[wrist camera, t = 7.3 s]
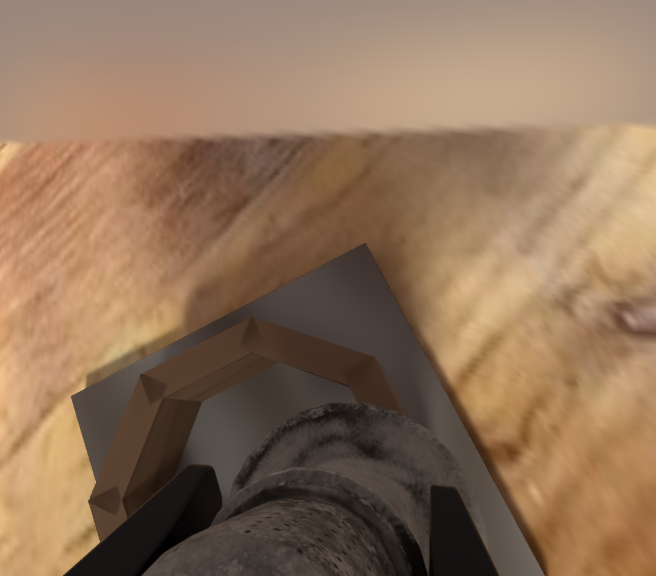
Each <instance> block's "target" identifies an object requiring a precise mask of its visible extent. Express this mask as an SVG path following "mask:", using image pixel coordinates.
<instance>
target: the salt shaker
mask: <svg viewBox="0 0 656 576" xmlns="http://www.w3.org/2000/svg"><path fill="white" fill-rule="evenodd" d="M433 484H440V485H452V486H455V487H456V488H457V489H458V490H459V492H460V494H461V496H462V498H463V500H464V502H465V504H466V506H467V508H468V511H469V513H470V515H471V517H472V519H473V521H474V523H475V525H476V527H477V529H478V531H479V533H480V536H481V538H482V540H483V542H484V544H485V546H486V548H487V550H488V540H487V527H486V523H485V520H484V517H483V514H482V511H481V508H480V505H479V502H478V498H477V495H476V492H475V489H474V487H473V485H472V484H471V482H470V480H469V479H468V477H467V476H466V474H465V472H464V471H463V469H462V468H461V466H460V464H459V463H458V461H457V460H456V458H455V456H454V455H453V454H452V453H451V452H450V451H449V450H448V449H447V448H446V447H445V446H444V445H443V444H442V443H441V442H440V441H439V440H438V439H437V438H436V437H435V436H434V435H433V434H432V433H431V432H430V431H429V430H428V429H426V428H425V427H423V426H421V425H419V424H418V423H416V422H414V421H412V420H411V419H409V418H407V417H405V416H404V415H402V414H400V413H399V412H397V411H393V410H390V409H386V408H382V407H378V406H375V405H371V404H367V403H329V404H325V405H322V406H319V407H315V408H312V409H308V410H305V411H301V412H299V413H297V414H296V415H294V416H292V417H291V418H289V419H288V420H286V421H284V422H283V423H281V424H279V425H278V426H276V427H275V428H273V429H272V430H271V431H270V432H269V433H268V434H267V435H266V436H265V437H264V438H263V439H262V440H261V441H260V442H259V443H258V445H257V446H256V447H255V448H254V449H253V450H252V451H251V452H250V453H249V455H248V457H247V458H246V460H245V462H244V464H243V466H242V467H241V469H240V471H239V473H238V474H237V476H236V478H235V480H234V482H233V484H232V488H231V491H230V495H229V498H228V502H227V503H226V504H225V505H224V507H223V508H222V509H221V510H220V511H219V512H218V513H217V515H216V517H215V518H214V520H213V522H212V524H211V525H210V527H209V528H208V529H206V530H203V531H201V532H199V533H197V534H194V535H193V536H191V537H189V538H187V539H186V540H184V541H182V542H181V543H179V544H177V545H176V546H174V547H172V548H171V549H169V550H167V551H166V552H164V553H163V554H162V555H161V556H160V557H159V558H158V559H157V560H156V561H155V562H154V563H153V564H152V565H151V566H150V567H149V568H148V569H147V571H146V572H145V573H144V574H143V575H142V576H429V521H430V487H431V486H432V485H433Z"/></svg>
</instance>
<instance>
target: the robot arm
mask: <svg viewBox="0 0 656 576" xmlns="http://www.w3.org/2000/svg"><path fill="white" fill-rule="evenodd" d="M221 509H222V494H221V491H220V487H219V483H218V480H217V476H216V473H215V470H214V468H213V467H212V466H210V465H203V464H190V465H188V466H186V467H185V468H184V469H183V470H181V471H180V472H179V473H178V474H177V475H176V476H175V477H174V478H172V479H171V480H170V481H169V482H168V483H167V484H166V485H165V486H163V487H162V488H161V489H160V490H159V491H158V492H157V493H156V494H154V495H153V496H152V497H151V498H150V499H149V500H148V501H146V502H145V503H144V504H143V505H142V506H141V507H140V508H139V509H137V510H136V511H135V512H134V513H133V514H132V515H131V516H130V517H128V518H127V519H126V520H125V521H124V522H123V523H122V524H121V525H119V526H118V527H117V528H116V529H115V530H114V531H113V532H112V533H110V534H109V535H108V536H107V537H106V538H105V539H104V540H103V541H101V542H100V543H99V544H98V545H97V546H96V547H95V548H94V549H92V550H91V551H90V552H89V553H88V554H87V555H86V556H84V557H83V558H82V559H81V560H80V561H79V562H78V563H77V564H75V565H74V566H73V567H72V568H71V569H70V570H69V571H68V572H66V573H65V574H64V575H63V576H142V575H143V574H144V573H145V572H146V571H147V569H148V568H149V567H150V566H151V565H152V564H153V563H154V562H155V561H156V560H157V559H158V558H159V557H160V556H161V555H162V554H163V553H164V552H166V551H167V550H169V549H171V548H172V547H174V546H176V545H177V544H179V543H181V542H182V541H184V540H186V539H187V538H189V537H191V536H193V535H194V534H197V533H199V532H201V531H203V530H206V529H208V528H209V527H210V525H211V524H212V522H213V520H214V518H215V517H216V515H217V513H218V512H219V511H220V510H221ZM429 576H500V575H499V573H498V571H497V569H496V567H495V565H494V563H493V560H492V558H491V556H490V554H489V552H488V550H487V548H486V546H485V544H484V542H483V540H482V538H481V536H480V533H479V531H478V529H477V527H476V525H475V523H474V521H473V519H472V517H471V515H470V513H469V511H468V508H467V506H466V504H465V502H464V500H463V498H462V496H461V494H460V492H459V490H458V489H457V488H456V487H455V486H452V485H440V484H433V485H432V486H431V487H430V521H429Z"/></svg>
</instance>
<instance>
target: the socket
mask: <svg viewBox="0 0 656 576" xmlns="http://www.w3.org/2000/svg"><path fill="white" fill-rule="evenodd" d="M71 399H72V402H73V406H74V409H75V412H76V416H77V419H78V422H79V426H80V429H81V433H82V436H83V439H84V443H85V446H86V449H87V453H88V456H89V460H90V463H91V466H92V470H93V473H94V476H95V480H96V484H95V487H94V489H93V491H92V494H91V496H90V499H89V500H88V503H89V505H90V508H91V512H92V515H93V519H94V522H95V526H96V529H97V533H98V536H99V539H100V542H101V541H103V540H104V539H105V538H106V537H107V536H108V535H109V534H110V533H112V532H113V531H114V530H115V529H116V528H117V527H118V526H119V525H121V524H122V523H123V522H124V521H125V520H126V519H127V518H128V517H130V516H131V515H132V514H133V513H134V512H135V511H136V510H137V509H139V508H140V507H141V506H142V505H143V504H144V503H145V502H146V501H148V500H149V499H150V498H151V497H152V496H153V495H154V494H156V493H157V492H158V491H159V490H160V489H161V488H162V487H163V486H165V485H166V484H167V483H168V482H169V481H170V480H171V479H172V478H174V477H175V476H176V475H177V474H178V473H179V472H180V471H181V470H183V469H184V468H185V467H186V466H188V465H190V464H203V465H210V466H212V467H213V468H214V470H215V473H216V476H217V480H218V483H219V487H220V491H221V494H222V508H223V507H224V505H225V504H226V503H227V502H228V498H229V495H230V491H231V488H232V484H233V482H234V480H235V478H236V476H237V474H238V473H239V471H240V469H241V467H242V466H243V464H244V462H245V460H246V458H247V457H248V455H249V453H250V452H251V451H252V450H253V449H254V448H255V447H256V446H257V445H258V443H259V442H260V441H261V440H262V439H263V438H264V437H265V436H266V435H267V434H268V433H269V432H270V431H271V430H272V429H273V428H275V427H276V426H278V425H279V424H281V423H283V422H284V421H286V420H288V419H289V418H291V417H292V416H294V415H296V414H297V413H299V412H301V411H305V410H308V409H312V408H315V407H319V406H322V405H325V404H329V403H367V404H371V405H375V406H378V407H382V408H386V409H390V410H393V411H397V412H399V413H400V414H402V415H404V416H405V417H407V418H409V419H411V420H412V421H414V422H416V423H418V424H419V425H421V426H423V427H425V428H426V429H428V430H429V431H430V432H431V433H432V434H433V435H434V436H435V437H436V438H437V439H438V440H439V441H440V442H441V443H442V444H443V445H444V446H445V447H446V448H447V449H448V450H449V451H450V452H451V453H452V454H453V455H454V456H455V458H456V460H457V461H458V463H459V464H460V466H461V468H462V469H463V471H464V472H465V474H466V476H467V477H468V479H469V480H470V482H471V484H472V485H473V487H474V489H475V492H476V495H477V498H478V502H479V505H480V508H481V511H482V514H483V517H484V520H485V523H486V527H487V540H488V552H489V554H490V556H491V558H492V560H493V563H494V565H495V567H496V569H497V571H498V573H499V575H500V576H545V575H544V573H543V571H542V570H541V568H540V566H539V564H538V562H537V560H536V558H535V557H534V555H533V553H532V551H531V549H530V547H529V545H528V544H527V542H526V540H525V538H524V536H523V534H522V532H521V531H520V529H519V527H518V525H517V523H516V521H515V519H514V518H513V516H512V514H511V512H510V510H509V508H508V507H507V505H506V503H505V501H504V499H503V497H502V495H501V494H500V492H499V490H498V488H497V486H496V484H495V482H494V481H493V479H492V477H491V475H490V473H489V471H488V469H487V468H486V466H485V464H484V462H483V460H482V458H481V456H480V455H479V453H478V451H477V449H476V447H475V445H474V443H473V442H472V440H471V438H470V436H469V434H468V432H467V430H466V429H465V427H464V425H463V423H462V421H461V419H460V418H459V416H458V414H457V412H456V410H455V408H454V406H453V405H452V403H451V401H450V399H449V397H448V395H447V393H446V392H445V390H444V388H443V386H442V384H441V382H440V380H439V379H438V377H437V375H436V373H435V371H434V369H433V367H432V366H431V364H430V362H429V360H428V358H427V356H426V354H425V353H424V351H423V349H422V347H421V345H420V343H419V341H418V340H417V338H416V336H415V334H414V332H413V330H412V329H411V327H410V325H409V323H408V321H407V319H406V317H405V316H404V314H403V312H402V310H401V308H400V306H399V304H398V303H397V301H396V299H395V297H394V295H393V293H392V291H391V290H390V288H389V286H388V284H387V282H386V280H385V278H384V277H383V275H382V273H381V271H380V269H379V267H378V265H377V264H376V262H375V260H374V258H373V256H372V254H371V252H370V251H369V249H368V247H367V245H366V243H364V244H362V245H360V246H358V247H356V248H355V249H353V250H351V251H349V252H347V253H345V254H343V255H341V256H339V257H337V258H335V259H333V260H331V261H330V262H328V263H326V264H324V265H322V266H320V267H318V268H316V269H314V270H312V271H310V272H308V273H307V274H305V275H303V276H301V277H299V278H297V279H295V280H293V281H291V282H289V283H287V284H285V285H283V286H282V287H280V288H278V289H276V290H274V291H272V292H270V293H268V294H266V295H264V296H262V297H260V298H259V299H257V300H255V301H253V302H251V303H249V304H247V305H245V306H243V307H241V308H239V309H237V310H236V311H234V312H232V313H230V314H228V315H226V316H224V317H222V318H220V319H218V320H216V321H214V322H212V323H211V324H209V325H207V326H205V327H203V328H201V329H199V330H197V331H195V332H193V333H191V334H189V335H188V336H186V337H184V338H182V339H180V340H178V341H176V342H174V343H172V344H170V345H168V346H166V347H165V348H163V349H161V350H159V351H157V352H155V353H153V354H151V355H149V356H147V357H145V358H143V359H141V360H140V361H138V362H136V363H134V364H132V365H130V366H128V367H126V368H124V369H122V370H120V371H118V372H117V373H115V374H113V375H111V376H109V377H107V378H105V379H103V380H101V381H99V382H97V383H95V384H94V385H92V386H90V387H88V388H86V389H84V390H82V391H80V392H78V393H76V394H74V395H72V396H71Z"/></svg>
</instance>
